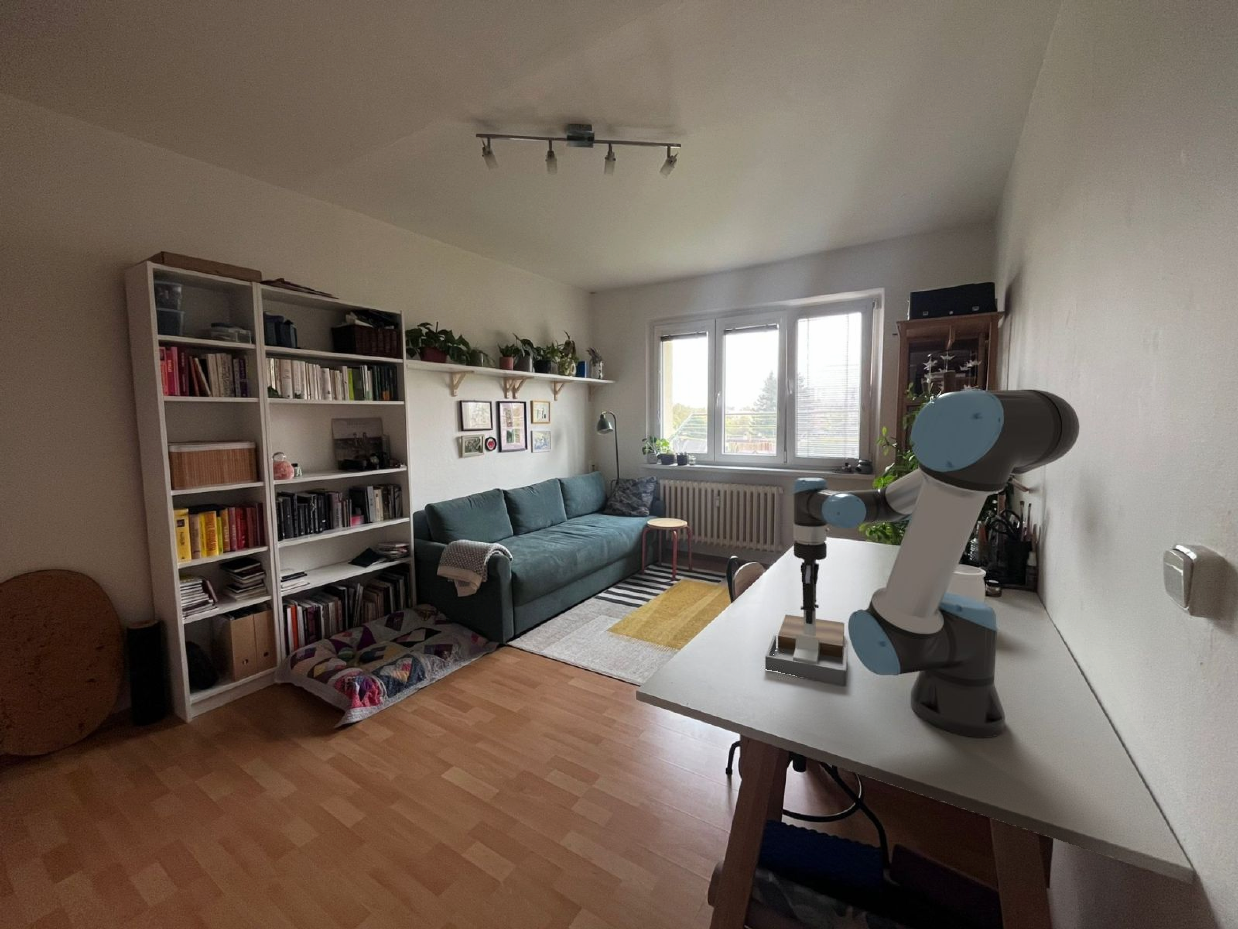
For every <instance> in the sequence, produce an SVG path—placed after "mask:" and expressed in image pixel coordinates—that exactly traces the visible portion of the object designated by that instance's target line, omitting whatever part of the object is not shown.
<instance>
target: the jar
mask: <svg viewBox="0 0 1238 929" xmlns="http://www.w3.org/2000/svg"><path fill="white" fill-rule="evenodd" d="M986 573H987V572H986V571H985V570H984V569H982V568H979V567H975V566H971V565H967V564H959V563H958V565H957V567H956V570H955V572H954V574H953V577H952V579H951V581H950V583H949V586H948V588H947V590H946V592H947V593H952V594H957V595H961V596H965V597H969V598H972V599H975V600H978V601H980V602H983V603H985V598H986V585H985V579H984V577H986Z"/></svg>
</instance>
